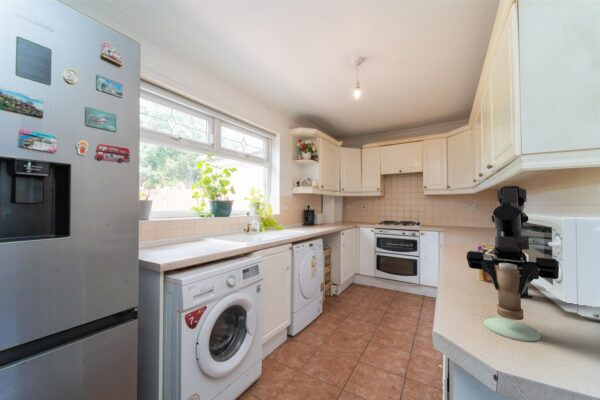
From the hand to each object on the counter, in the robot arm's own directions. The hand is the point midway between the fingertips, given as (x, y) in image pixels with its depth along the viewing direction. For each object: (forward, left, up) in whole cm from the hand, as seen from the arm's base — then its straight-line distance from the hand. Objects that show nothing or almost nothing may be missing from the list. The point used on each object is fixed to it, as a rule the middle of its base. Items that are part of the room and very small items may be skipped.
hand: (508, 291), depth 62 cm
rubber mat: (-1, -1, -10) cm, 10 cm away
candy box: (-26, -39, -10) cm, 48 cm away
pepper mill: (-1, -1, -7) cm, 7 cm away
